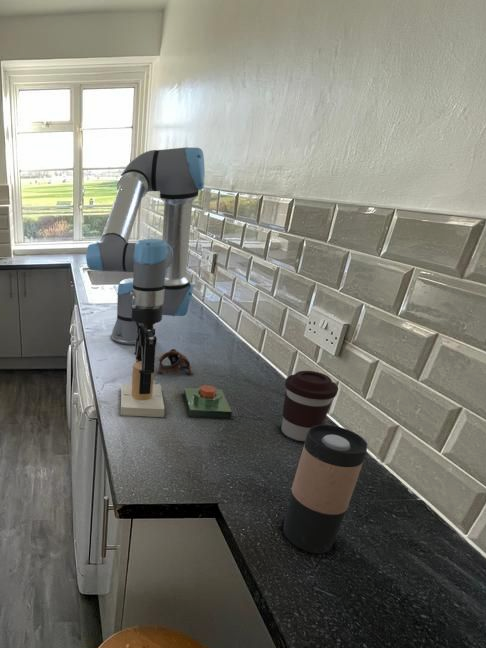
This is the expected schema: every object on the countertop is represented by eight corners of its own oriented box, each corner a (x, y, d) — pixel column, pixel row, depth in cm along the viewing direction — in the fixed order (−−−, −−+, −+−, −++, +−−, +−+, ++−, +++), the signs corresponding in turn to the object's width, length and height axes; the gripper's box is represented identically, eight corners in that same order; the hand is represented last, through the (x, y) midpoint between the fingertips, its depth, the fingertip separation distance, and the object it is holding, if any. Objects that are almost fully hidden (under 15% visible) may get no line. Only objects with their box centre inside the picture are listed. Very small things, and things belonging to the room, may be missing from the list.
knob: (129, 390, 112) (131, 360, 108) (149, 389, 112) (152, 359, 108) (133, 400, 107) (134, 368, 103) (154, 399, 107) (156, 368, 103)
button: (198, 390, 108) (199, 384, 108) (213, 391, 108) (214, 385, 107) (200, 397, 105) (201, 391, 104) (216, 398, 104) (217, 392, 103)
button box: (183, 394, 114) (184, 382, 112) (220, 396, 112) (222, 383, 111) (189, 416, 103) (191, 403, 102) (230, 419, 102) (233, 405, 100)
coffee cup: (317, 425, 97) (333, 369, 91) (328, 449, 89) (346, 389, 83) (271, 419, 100) (284, 365, 94) (278, 442, 92) (292, 384, 86)
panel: (121, 390, 118) (121, 382, 117) (159, 392, 116) (160, 383, 115) (120, 415, 106) (121, 406, 104) (163, 417, 104) (164, 408, 102)
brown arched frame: (196, 380, 123) (187, 361, 118) (166, 390, 126) (157, 373, 122) (188, 356, 132) (179, 338, 127) (160, 366, 135) (151, 349, 131)
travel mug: (271, 521, 71) (296, 426, 63) (312, 517, 72) (342, 422, 63) (299, 557, 64) (331, 456, 56) (345, 552, 65) (383, 451, 56)
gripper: (126, 295, 108) (123, 373, 117) (139, 316, 91) (134, 405, 100) (154, 294, 107) (148, 372, 117) (172, 315, 90) (164, 404, 100)
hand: (142, 387), depth 109 cm, fingers closed on knob, 6 cm apart
